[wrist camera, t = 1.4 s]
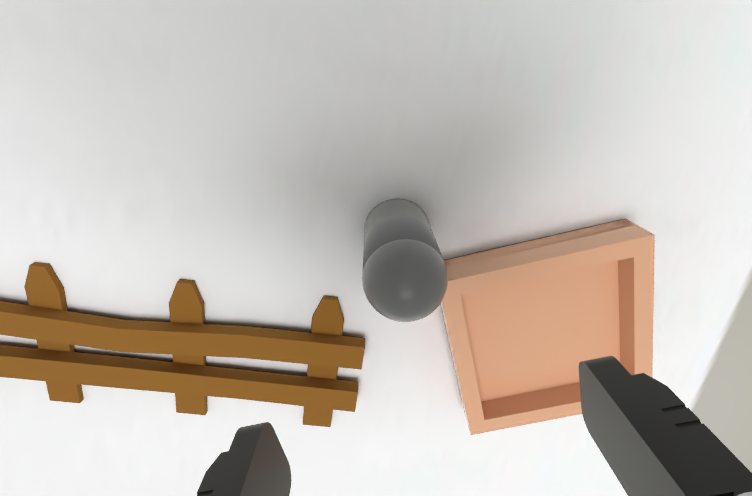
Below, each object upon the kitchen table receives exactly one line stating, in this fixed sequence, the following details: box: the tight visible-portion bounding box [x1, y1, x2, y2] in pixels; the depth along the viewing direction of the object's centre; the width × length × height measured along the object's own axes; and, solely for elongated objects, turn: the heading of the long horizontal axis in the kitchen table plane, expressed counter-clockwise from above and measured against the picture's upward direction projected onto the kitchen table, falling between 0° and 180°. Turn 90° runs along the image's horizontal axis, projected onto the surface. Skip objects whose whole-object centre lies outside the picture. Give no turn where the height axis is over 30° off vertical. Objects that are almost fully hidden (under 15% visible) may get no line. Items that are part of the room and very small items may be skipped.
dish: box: [441, 219, 654, 435], centre depth 24 cm, size 11×11×2 cm
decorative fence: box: [0, 262, 365, 427], centre depth 25 cm, size 25×2×10 cm
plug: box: [362, 199, 448, 322], centre depth 19 cm, size 4×4×8 cm
